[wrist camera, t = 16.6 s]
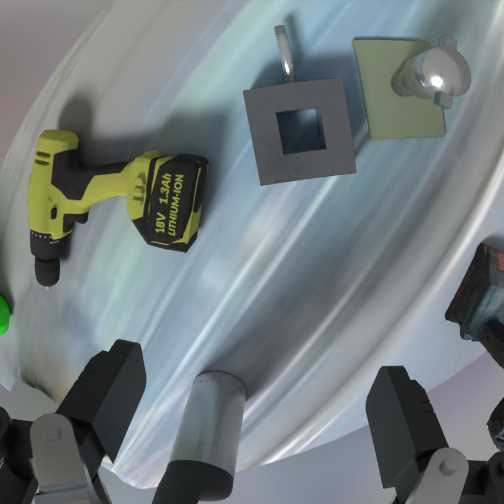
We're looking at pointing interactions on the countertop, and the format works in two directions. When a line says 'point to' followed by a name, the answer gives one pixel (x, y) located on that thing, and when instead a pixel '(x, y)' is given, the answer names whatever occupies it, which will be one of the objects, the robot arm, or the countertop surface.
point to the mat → (386, 100)
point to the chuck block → (296, 99)
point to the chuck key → (434, 75)
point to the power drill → (484, 316)
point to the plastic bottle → (4, 316)
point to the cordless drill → (106, 186)
